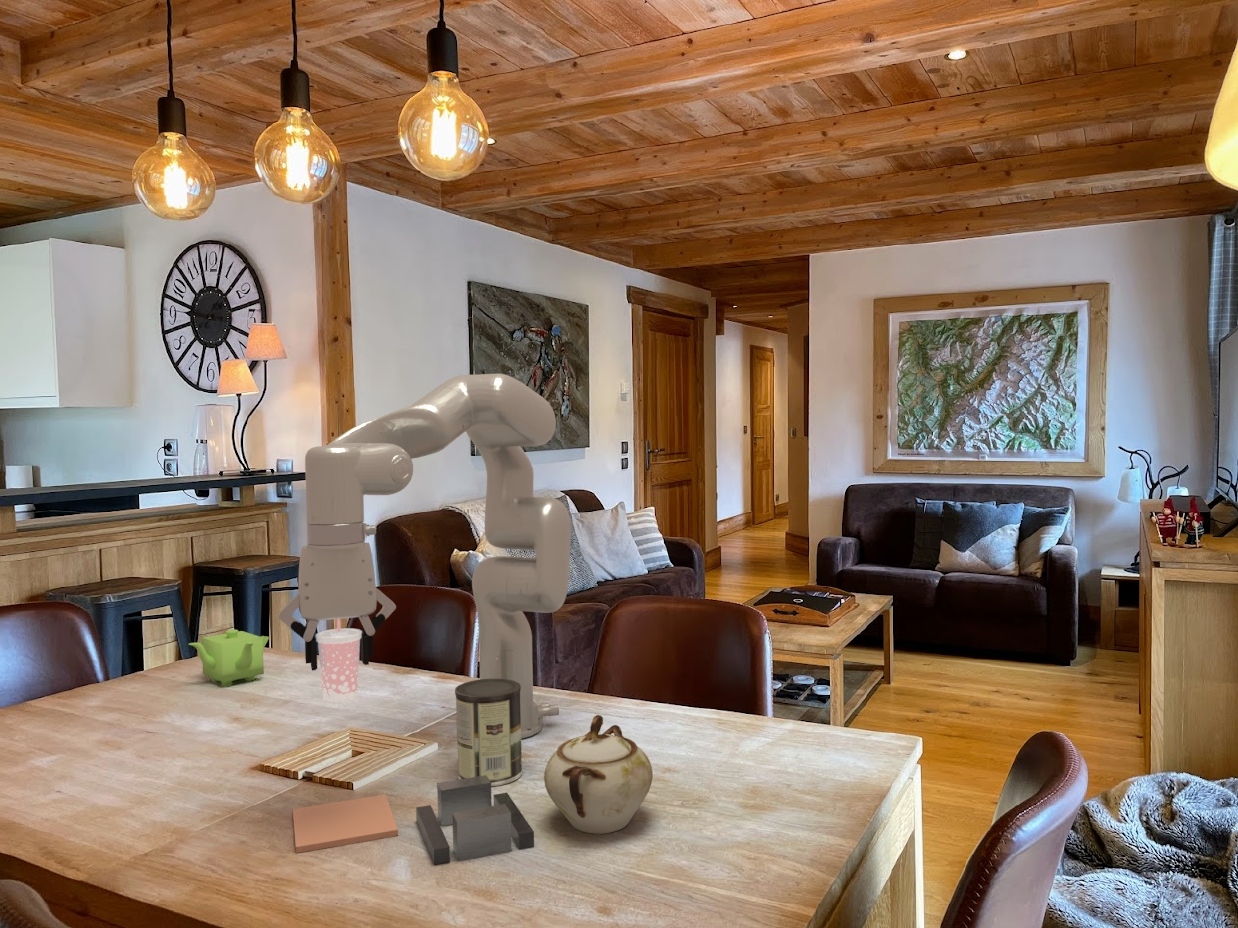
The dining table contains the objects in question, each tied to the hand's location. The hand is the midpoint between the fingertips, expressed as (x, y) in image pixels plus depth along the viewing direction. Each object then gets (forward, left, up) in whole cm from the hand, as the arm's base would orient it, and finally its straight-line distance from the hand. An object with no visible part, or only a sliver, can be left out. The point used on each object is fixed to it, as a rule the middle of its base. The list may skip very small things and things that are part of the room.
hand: (339, 664), depth 126 cm
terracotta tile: (0, 0, -22) cm, 22 cm away
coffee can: (-23, -10, -23) cm, 34 cm away
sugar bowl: (-33, +13, -23) cm, 42 cm away
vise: (-16, +10, -22) cm, 29 cm away
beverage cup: (0, 0, -5) cm, 5 cm away
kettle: (+17, -88, -23) cm, 92 cm away
